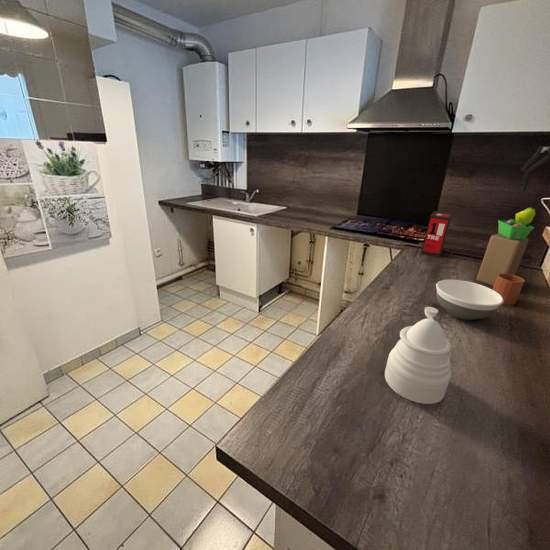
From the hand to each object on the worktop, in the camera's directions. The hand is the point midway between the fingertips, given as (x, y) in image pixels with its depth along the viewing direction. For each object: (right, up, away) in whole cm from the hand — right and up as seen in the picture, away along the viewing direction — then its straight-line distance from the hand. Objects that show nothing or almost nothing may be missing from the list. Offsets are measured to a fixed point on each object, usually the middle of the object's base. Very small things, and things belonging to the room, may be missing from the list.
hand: (546, 192), depth 113 cm
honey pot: (-74, -57, -46) cm, 104 cm away
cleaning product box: (-20, -19, +45) cm, 53 cm away
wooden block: (-14, -35, +9) cm, 39 cm away
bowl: (-43, -45, -16) cm, 65 cm away
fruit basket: (-13, -17, 0) cm, 22 cm away
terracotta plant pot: (-22, -41, -6) cm, 47 cm away
